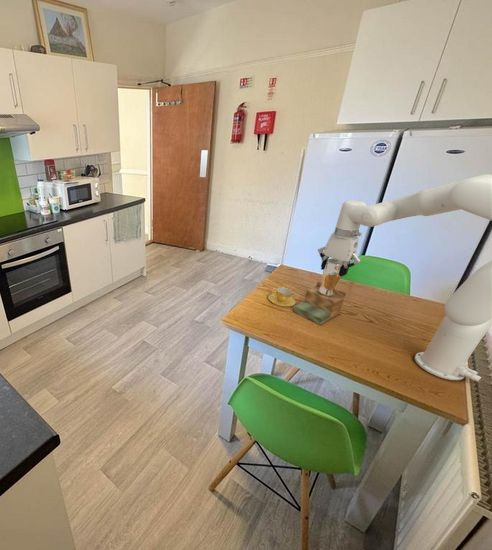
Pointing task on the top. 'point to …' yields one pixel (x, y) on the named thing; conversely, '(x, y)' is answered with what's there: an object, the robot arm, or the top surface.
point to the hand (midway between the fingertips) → (332, 271)
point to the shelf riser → (320, 305)
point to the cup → (282, 297)
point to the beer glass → (331, 276)
